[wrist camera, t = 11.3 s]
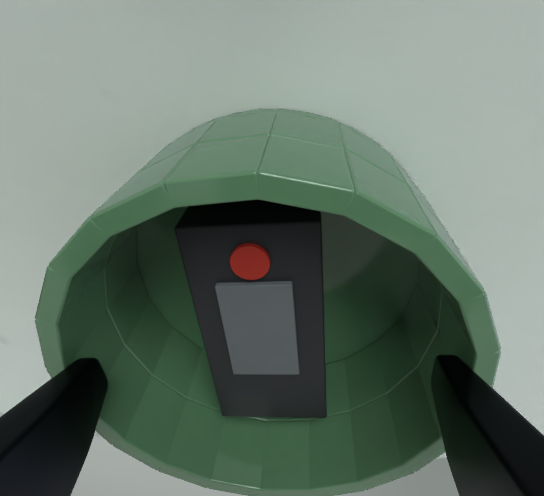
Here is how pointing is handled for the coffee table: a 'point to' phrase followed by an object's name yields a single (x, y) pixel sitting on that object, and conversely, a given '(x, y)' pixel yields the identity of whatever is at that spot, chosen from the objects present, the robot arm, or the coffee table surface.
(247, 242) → the remote
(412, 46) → the coffee table surface
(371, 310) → the bowl
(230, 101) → the coffee table surface
